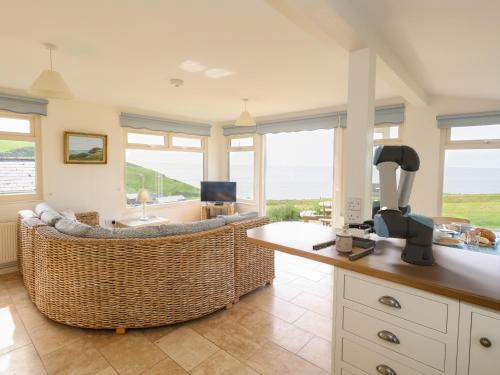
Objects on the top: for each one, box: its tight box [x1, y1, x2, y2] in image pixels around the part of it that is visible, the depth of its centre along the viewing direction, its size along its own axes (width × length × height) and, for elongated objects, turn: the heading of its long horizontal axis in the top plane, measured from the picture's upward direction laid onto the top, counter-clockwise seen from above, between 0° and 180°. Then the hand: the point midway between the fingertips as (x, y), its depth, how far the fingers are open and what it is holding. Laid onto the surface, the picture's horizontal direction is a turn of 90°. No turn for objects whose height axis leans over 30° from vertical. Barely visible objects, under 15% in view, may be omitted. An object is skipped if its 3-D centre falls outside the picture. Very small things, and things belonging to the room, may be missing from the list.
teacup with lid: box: [335, 229, 354, 253], centre depth 158 cm, size 12×9×12 cm
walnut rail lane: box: [312, 238, 376, 261], centre depth 158 cm, size 24×25×2 cm
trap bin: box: [352, 235, 377, 249], centre depth 171 cm, size 14×11×3 cm
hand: (353, 230), depth 164 cm, fingers open, 13 cm apart
